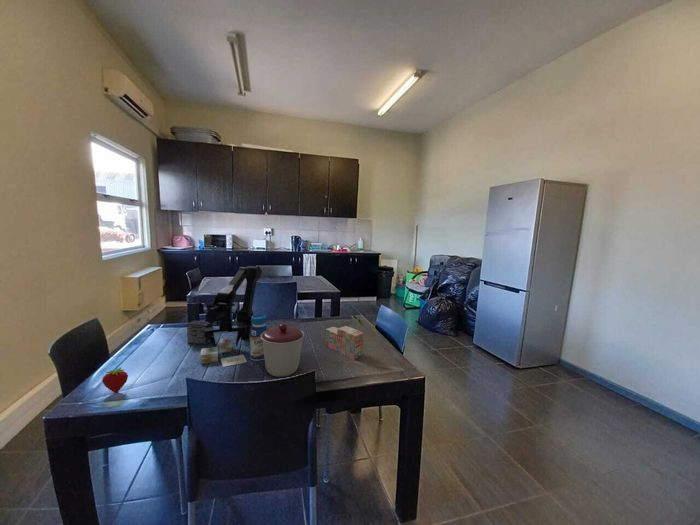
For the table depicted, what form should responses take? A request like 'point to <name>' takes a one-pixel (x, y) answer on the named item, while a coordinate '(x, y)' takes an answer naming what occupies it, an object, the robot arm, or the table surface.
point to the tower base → (209, 355)
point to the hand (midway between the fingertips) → (226, 347)
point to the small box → (198, 332)
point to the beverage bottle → (257, 337)
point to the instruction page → (233, 360)
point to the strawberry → (115, 379)
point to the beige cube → (225, 345)
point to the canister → (282, 349)
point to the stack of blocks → (345, 341)
